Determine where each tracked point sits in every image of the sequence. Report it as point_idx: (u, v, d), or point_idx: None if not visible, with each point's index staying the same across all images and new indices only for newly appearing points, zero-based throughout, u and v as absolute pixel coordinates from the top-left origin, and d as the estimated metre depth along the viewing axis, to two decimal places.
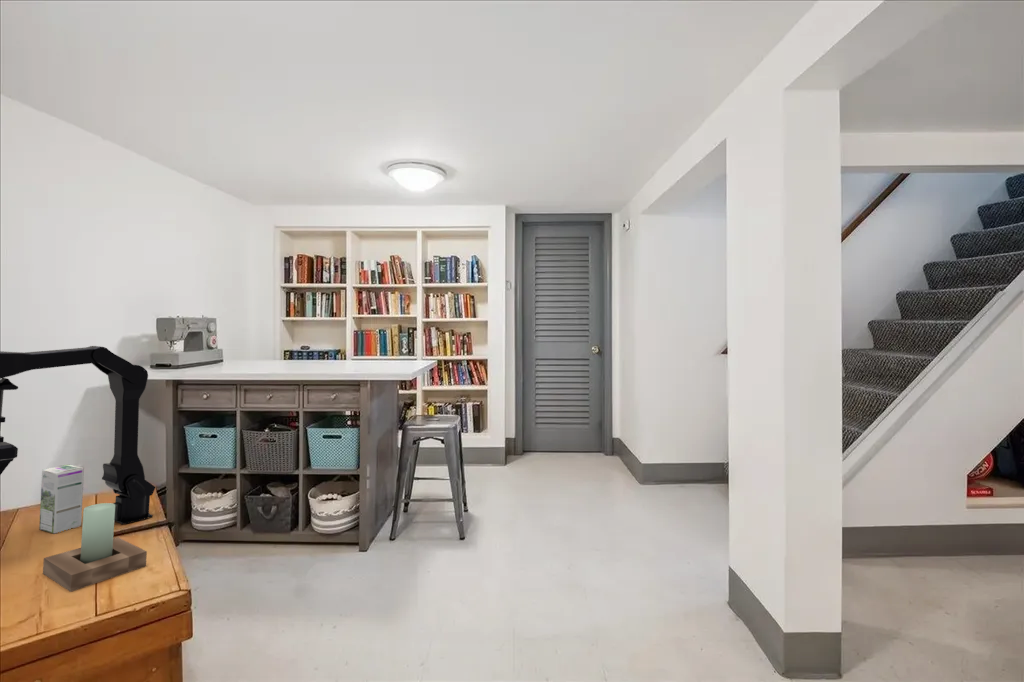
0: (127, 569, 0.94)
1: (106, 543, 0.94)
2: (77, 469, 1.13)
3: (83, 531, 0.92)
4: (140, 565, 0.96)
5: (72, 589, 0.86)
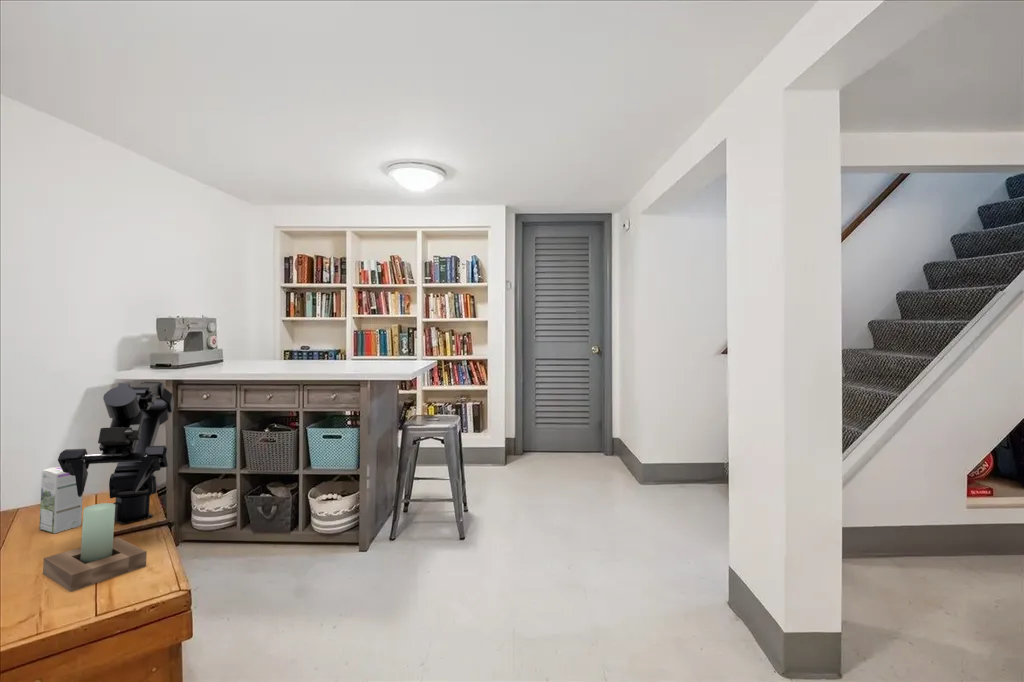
0: (127, 569, 0.94)
1: (106, 543, 0.94)
2: None
3: (83, 531, 0.92)
4: (140, 565, 0.96)
5: (72, 589, 0.86)
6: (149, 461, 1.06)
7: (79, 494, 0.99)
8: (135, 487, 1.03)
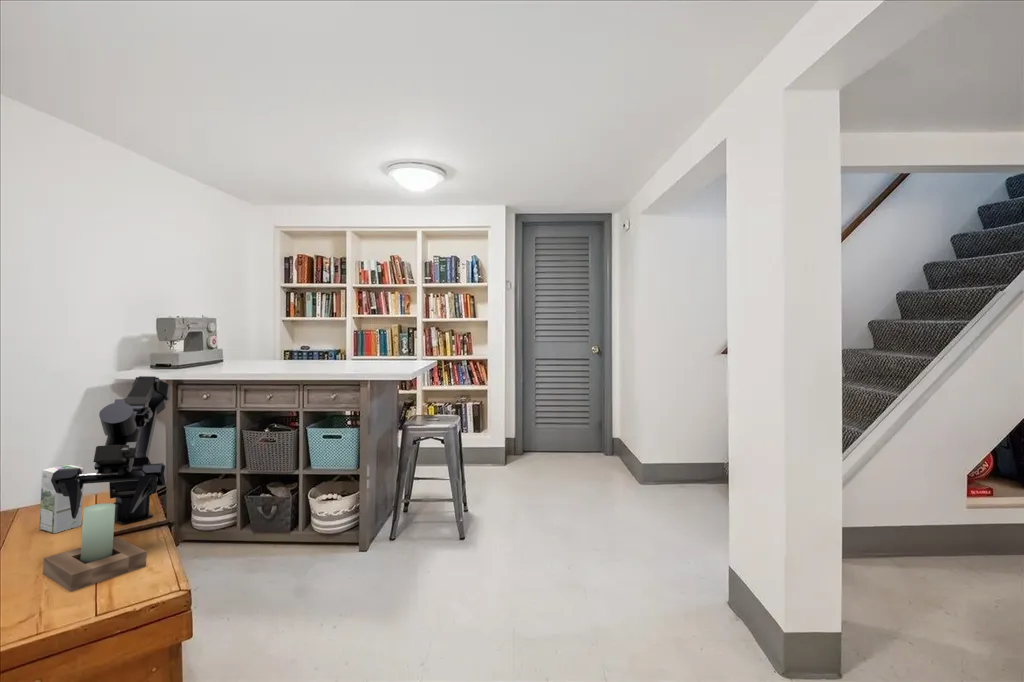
0: (127, 569, 0.94)
1: (106, 543, 0.94)
2: None
3: (83, 531, 0.92)
4: (140, 565, 0.96)
5: (72, 589, 0.86)
6: (146, 479, 1.02)
7: (73, 516, 0.95)
8: (132, 507, 0.99)
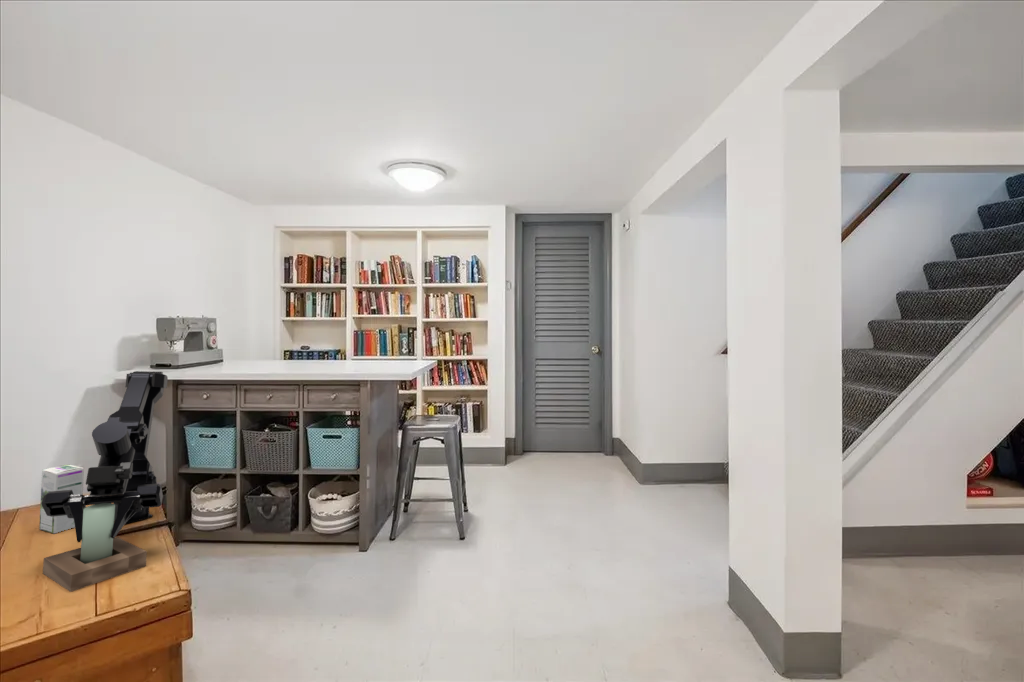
0: (127, 569, 0.94)
1: (106, 543, 0.94)
2: (77, 469, 1.13)
3: (83, 531, 0.92)
4: (140, 565, 0.96)
5: (72, 589, 0.86)
6: (129, 502, 0.98)
7: (78, 539, 0.92)
8: (113, 532, 0.94)
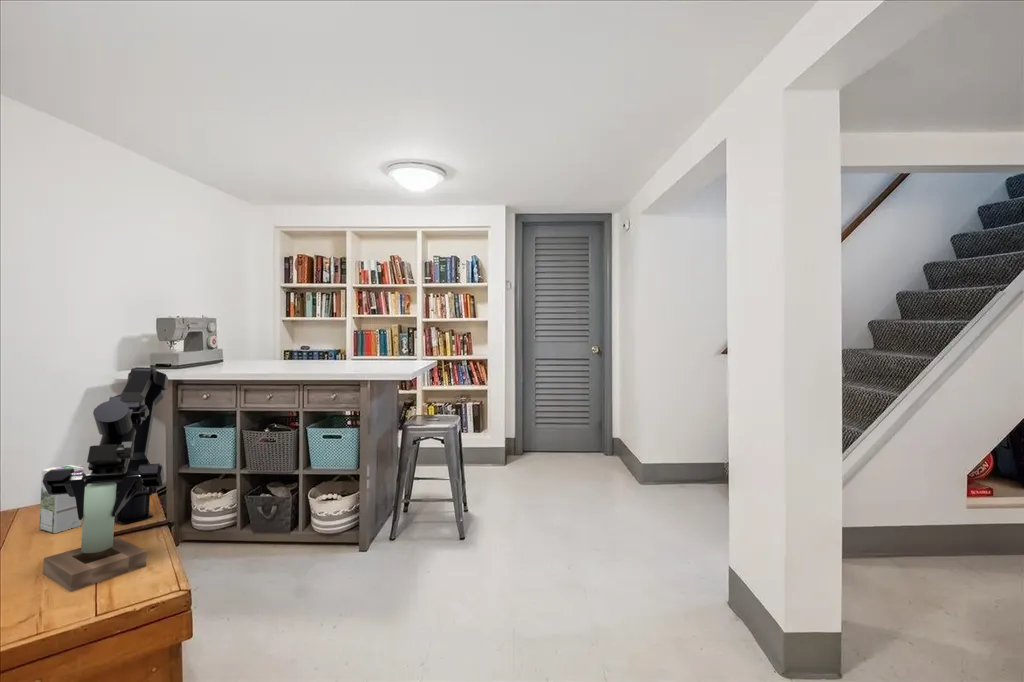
0: (127, 569, 0.94)
1: (107, 522, 0.94)
2: (77, 469, 1.13)
3: (84, 509, 0.92)
4: (140, 565, 0.96)
5: (72, 589, 0.86)
6: (130, 481, 0.98)
7: (80, 517, 0.92)
8: (115, 510, 0.94)
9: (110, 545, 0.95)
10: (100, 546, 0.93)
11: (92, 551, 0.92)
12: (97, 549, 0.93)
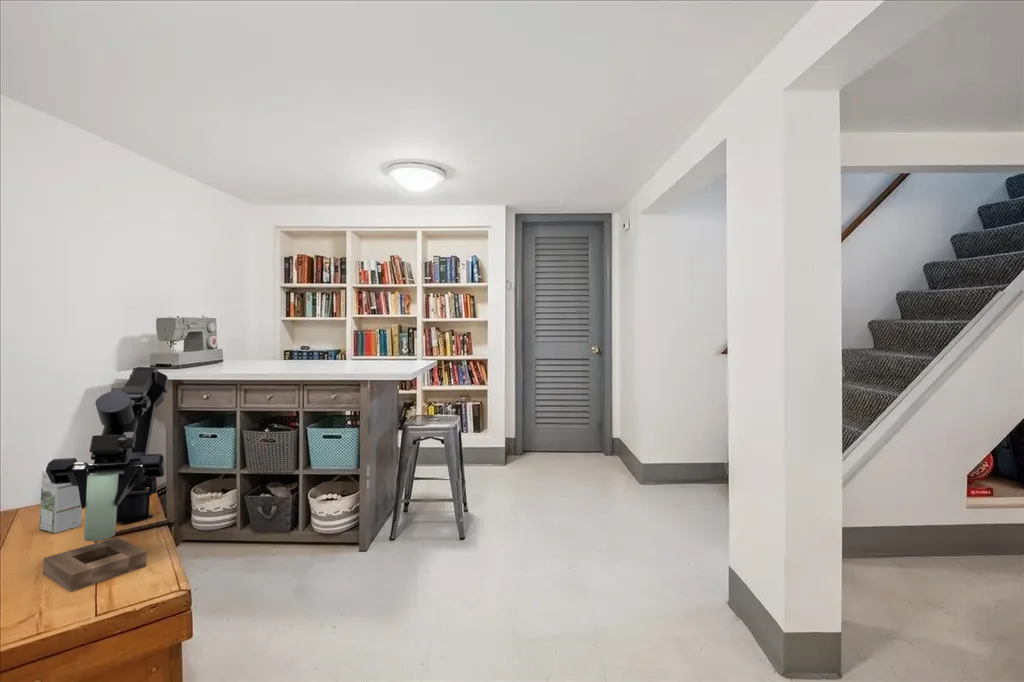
0: (127, 569, 0.94)
1: (110, 510, 0.95)
2: None
3: (87, 498, 0.93)
4: (140, 565, 0.96)
5: (72, 589, 0.86)
6: (132, 471, 0.99)
7: (83, 506, 0.93)
8: (117, 500, 0.96)
9: (112, 534, 0.96)
10: (103, 534, 0.94)
11: (95, 539, 0.93)
12: (100, 537, 0.94)
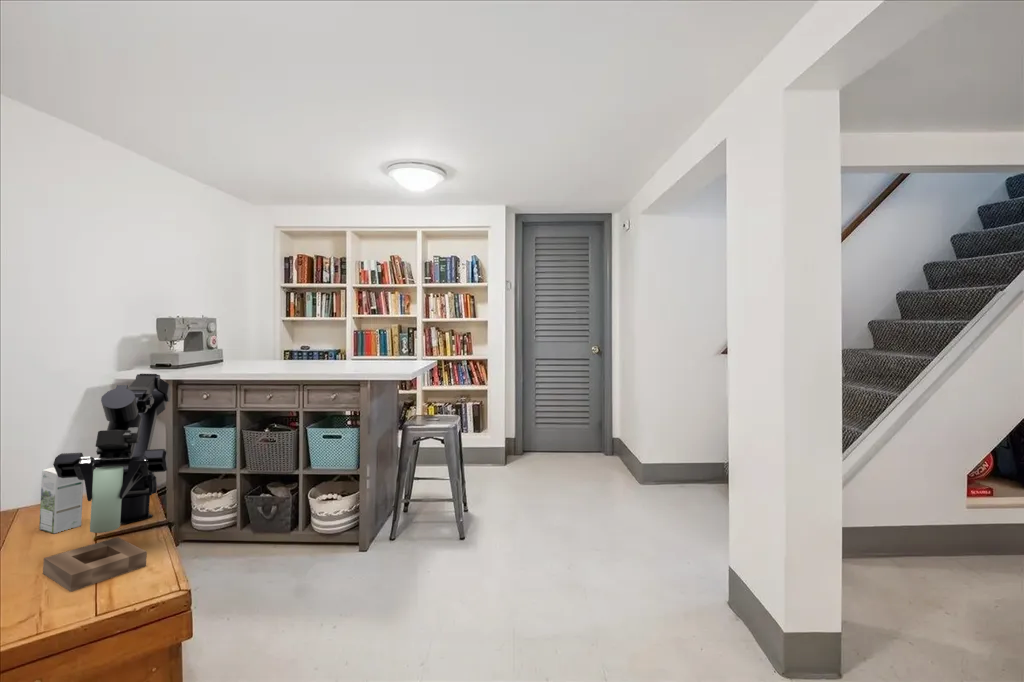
0: (127, 569, 0.94)
1: (115, 503, 0.98)
2: None
3: (93, 491, 0.97)
4: (140, 565, 0.96)
5: (72, 589, 0.86)
6: (137, 465, 1.02)
7: (89, 498, 0.96)
8: (122, 493, 0.99)
9: (117, 526, 0.99)
10: (108, 526, 0.97)
11: (100, 531, 0.97)
12: (105, 529, 0.97)
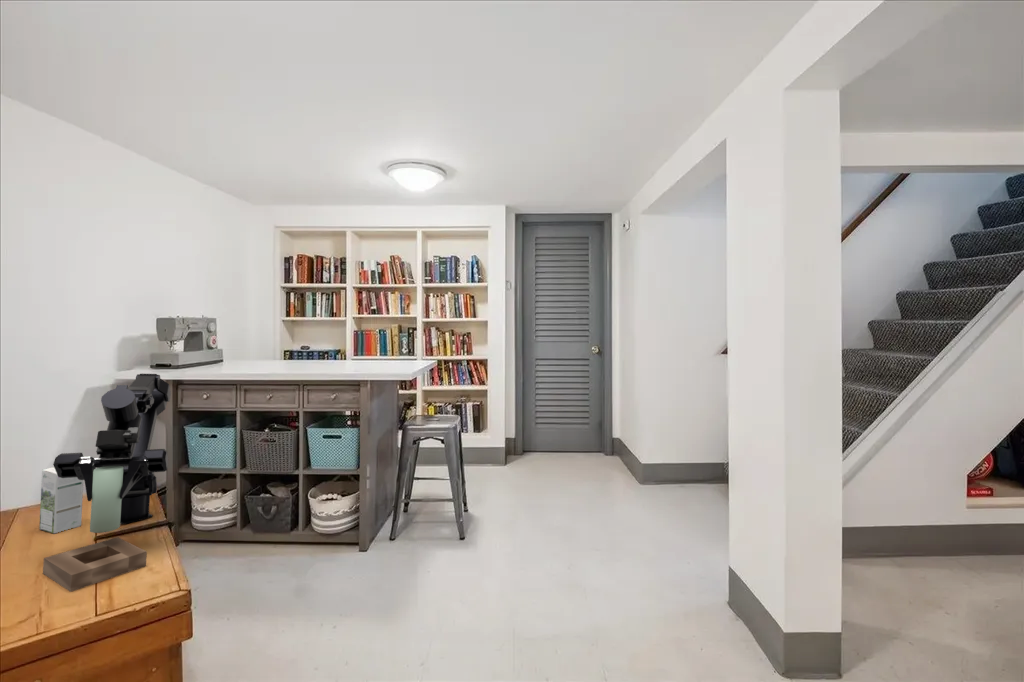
0: (127, 569, 0.94)
1: (115, 503, 0.98)
2: None
3: (93, 491, 0.97)
4: (140, 565, 0.96)
5: (72, 589, 0.86)
6: (137, 465, 1.02)
7: (89, 498, 0.96)
8: (122, 493, 0.99)
9: (117, 526, 0.99)
10: (108, 526, 0.97)
11: (100, 531, 0.97)
12: (105, 529, 0.97)
